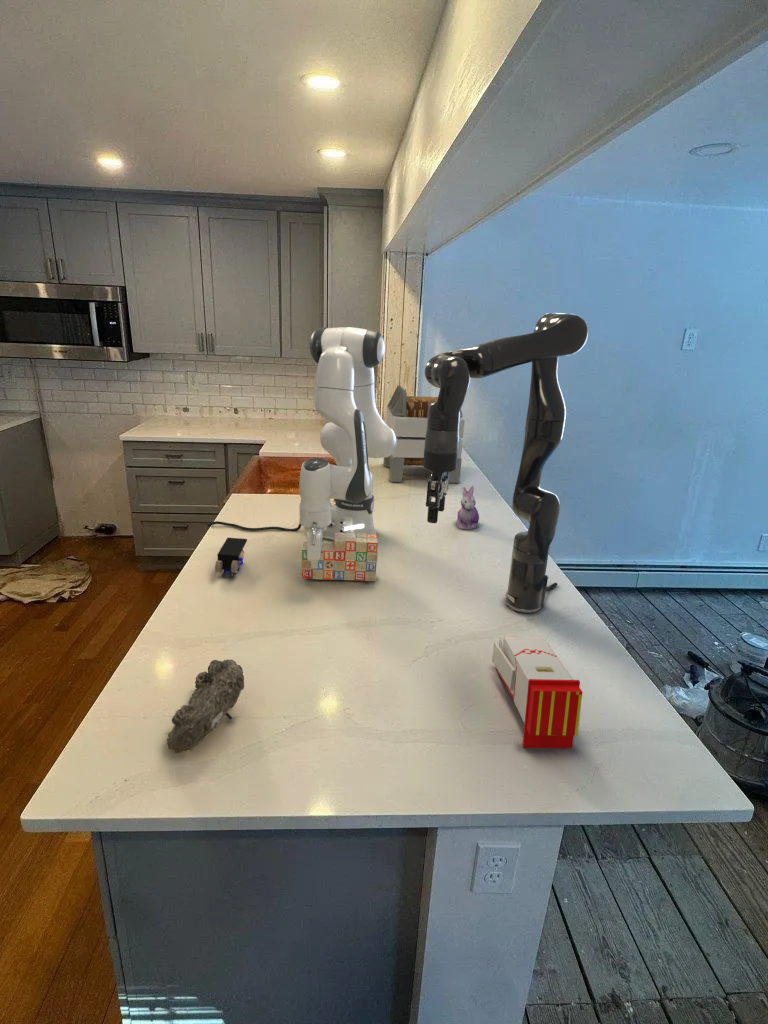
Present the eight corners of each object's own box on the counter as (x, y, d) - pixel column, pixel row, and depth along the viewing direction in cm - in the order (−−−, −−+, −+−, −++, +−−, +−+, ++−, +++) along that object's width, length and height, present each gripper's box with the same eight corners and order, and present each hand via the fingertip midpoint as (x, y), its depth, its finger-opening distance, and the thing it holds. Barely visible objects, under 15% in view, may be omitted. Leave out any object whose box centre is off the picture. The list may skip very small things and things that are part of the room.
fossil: (192, 660, 117) (244, 628, 112) (224, 691, 120) (276, 661, 115) (142, 746, 98) (202, 712, 93) (182, 779, 101) (242, 748, 96)
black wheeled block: (238, 584, 162) (249, 557, 175) (236, 562, 158) (247, 536, 172) (215, 584, 161) (227, 556, 175) (212, 561, 158) (225, 535, 171)
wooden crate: (382, 463, 289) (386, 382, 275) (445, 464, 293) (451, 384, 279) (390, 482, 257) (394, 392, 243) (460, 483, 261) (468, 394, 247)
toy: (540, 620, 128) (592, 687, 99) (535, 674, 131) (584, 755, 102) (487, 619, 128) (523, 686, 99) (483, 673, 131) (517, 754, 101)
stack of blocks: (301, 579, 161) (301, 539, 157) (302, 569, 167) (303, 531, 163) (375, 581, 163) (378, 542, 159) (374, 571, 169) (377, 533, 165)
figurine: (464, 532, 204) (468, 492, 199) (449, 522, 212) (452, 484, 207) (486, 528, 208) (490, 489, 203) (469, 519, 216) (473, 481, 211)
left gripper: (325, 531, 149) (325, 578, 154) (327, 505, 168) (327, 547, 173) (301, 530, 149) (301, 578, 153) (306, 504, 168) (306, 547, 172)
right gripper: (452, 457, 119) (446, 529, 124) (462, 443, 132) (456, 509, 137) (417, 453, 120) (413, 524, 126) (431, 440, 133) (426, 505, 139)
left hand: (315, 561), depth 163 cm, fingers closed on stack of blocks, 6 cm apart
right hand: (435, 516), depth 131 cm, fingers open, 8 cm apart
